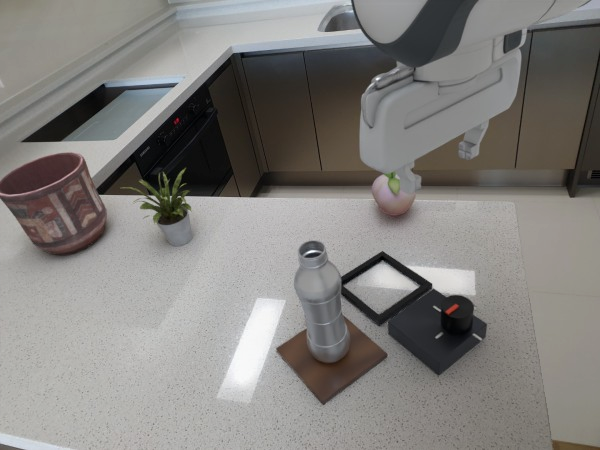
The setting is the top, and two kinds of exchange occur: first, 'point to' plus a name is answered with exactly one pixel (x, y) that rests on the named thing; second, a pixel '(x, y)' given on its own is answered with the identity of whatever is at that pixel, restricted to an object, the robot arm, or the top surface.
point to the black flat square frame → (398, 306)
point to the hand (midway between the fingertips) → (440, 173)
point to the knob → (457, 314)
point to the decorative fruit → (391, 194)
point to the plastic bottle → (321, 303)
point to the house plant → (170, 211)
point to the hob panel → (433, 333)
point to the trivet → (336, 375)
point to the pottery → (55, 202)
